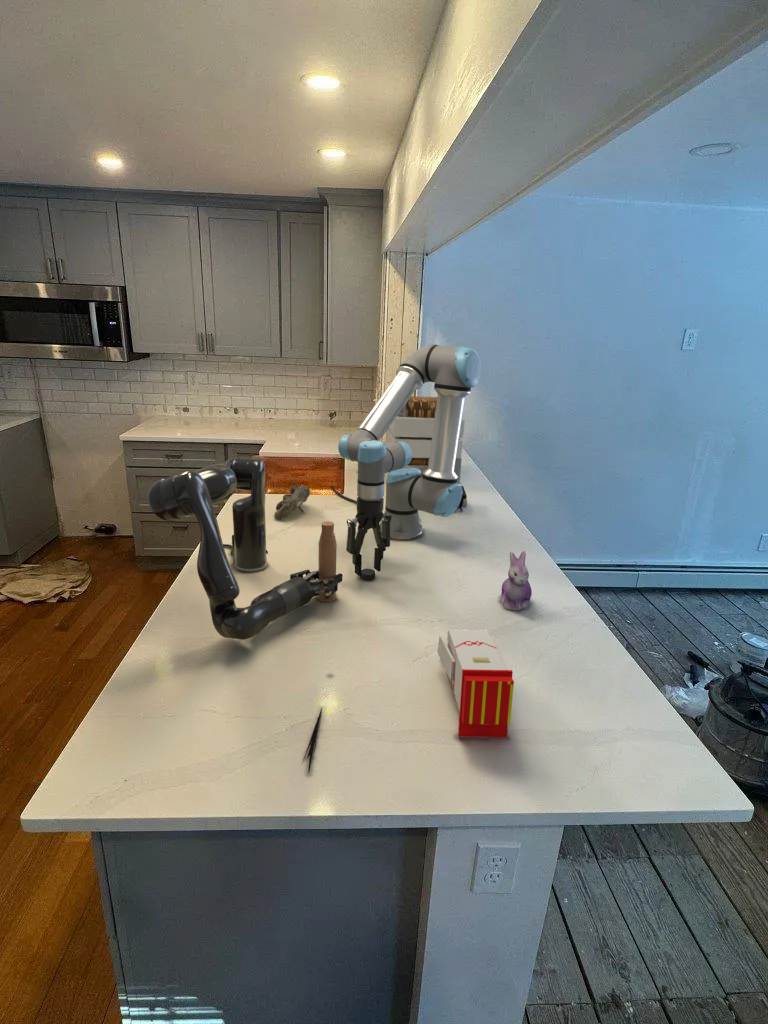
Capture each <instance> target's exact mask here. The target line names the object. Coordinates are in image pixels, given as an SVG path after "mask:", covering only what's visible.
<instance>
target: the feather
mask: <svg viewBox="0 0 768 1024" xmlns="http://www.w3.org/2000/svg"><path fill="white" fill-rule="evenodd" d="M329 675H330V676H331V675H332V674H331V673H330V674H329ZM322 710H323V707H321V708H320V710H319V713H318V716H317V719H316V723H315V725H314V728H313V731H312V733H311V737H310V739H309V742H308V745H307V748H306V751H305V754H304V757H303V760H302V763H301V767H302V765H303V763H304V761H305V758H308V759H309V760H308V762H307V763H308V764H307V766H308V771H310V770H311V766H312V765H311V764H312V760H313V757H315V756H314V755H315V751H316V749H315V746H317V739H318V733H319V729H320V722H321V717H322V712H323V711H322ZM313 754H314V755H313ZM306 755H307V757H306Z"/></svg>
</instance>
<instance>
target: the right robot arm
mask: <svg viewBox="0 0 768 1024" xmlns="http://www.w3.org/2000/svg"><path fill="white" fill-rule="evenodd" d="M481 373H482V364H481V359H480V357H479V354H478V353H477V351H476V350H474V349H473V348H471V347H466V346H455V345H441V344H428V345H427V344H426V345H424V346H422V347H420V348H418V349H416V350H415V351H413V352H412V353H410V355H408V356H407V357H406V358H405V359H403V361H402V362H401V363H400V364H399V366H398V367H397V369H395V377H394V378H393V380H392V381H391V382H390V384H389V385H388V387H387V388H386V389H385V391H384V392H383V393H382V395H381V396H380V398H379V399H378V400H377V402H376V403H375V405H374V406H373V407H372V409H371V410H370V411H369V413H368V414H367V415H366V417H365V418H364V420H363V421H362V422H361V424H360V425H359V426H358V428H357V429H356V431H355V432H354V434H352V433H349V434H345V435H343V436H342V437H341V438H340V439H339V442H338V453H339V455H340V457H341V458H343V459H345V460H348V461H351V462H356V463H357V482H356V483H357V486H356V496H357V497H356V500H355V499H353V498H350V497H348V496H345V495H344V494H342V493H340V492H339V491H338V490H337V489H335V487H334V486H333V485H330V486H329V487H330V489H331V490H332V492H334V493H335V495H336V496H337V495H338V496H339V497H340V498H343V499H344V500H347V501H349V502H351V503H353V504H355V505H356V515H355V517H354V518H352V519H346V525H347V535H346V536H347V537H346V549H345V551H346V553H348V554H350V555H351V556H352V564H353V565H354V570H353V571H354V574H355V575H356V576H358V577H360V576H361V570H362V569H363V568H362V567H363V566H362V565H363V564H362V563H363V554H361V550H362V548H363V544H364V540H365V537H366V534H367V533H368V530H371V529H372V533H373V537H374V540H375V544H376V547H375V548H374V550H373V551H374V553H373V570H374V571H377V572H379V573H380V572H381V571H382V560H384V554H385V553H384V552H386V551H387V548H389V547H390V546H391V540H395V541H410V540H415V539H418V538H420V537H421V536H422V535H423V525H422V524H421V523H422V518H420V515H419V511H421V512H424V513H427V514H431V515H433V516H439V517H444V518H447V517H450V516H452V515H453V514H454V513H455V512H456V511H457V510H458V509H457V507H458V506H459V504H460V501H461V498H462V487H461V486H462V485H461V484H459V483H457V478H458V477H457V475H456V474H455V473H454V467H455V460H456V454H457V447H458V440H459V433H460V426H461V420H462V419H463V414H464V413H463V412H464V406H465V405H464V404H465V398H466V397H467V396H468V395H469V394H471V391H472V388H473V387H474V388H475V387H477V385H478V384H479V381H480V380H481V375H482V374H481ZM425 383H434V386H433V389H434V391H435V392H436V393H437V396H436V397H437V405H436V412H435V419H434V427H433V434H432V442H431V449H430V456H429V464H428V466H427V468H426V469H425V470H423V471H422V470H421V469H420V468H417V467H407V465H408V464H409V463H410V462H411V460H412V451H411V448H410V447H409V445H408V444H406V443H404V442H394V443H388V442H386V441H382V439H383V437H384V435H386V431H387V430H388V428H389V427H390V425H391V424H392V422H393V421H394V420H395V418H396V417H397V415H398V414H399V412H400V411H401V410H402V408H403V407H404V405H405V404H406V402H407V401H408V400H409V398H410V397H411V396H413V394H414V393H415V391H417V390H420V389H421V388H422V387H423V386H424V384H425ZM403 467H404V468H403ZM386 474H387V475H386ZM385 477H386V480H385ZM384 497H385V499H384ZM384 500H385V504H384ZM384 505H385V507H384ZM384 508H385V509H384Z"/></svg>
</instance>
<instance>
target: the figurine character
mask: <svg viewBox="0 0 768 1024" xmlns="http://www.w3.org/2000/svg"><path fill="white" fill-rule="evenodd" d="M461 487H462V498H461V501H460V504H459V506H458V507H457V509H456V510H458V509H459V510H460V512H463V509H464V508H465V509H466V508H467V506H468V499H467V497H468V496H467V495H468V494H467V493H466V490H465V487H464V485H461Z"/></svg>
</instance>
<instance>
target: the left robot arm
mask: <svg viewBox="0 0 768 1024" xmlns="http://www.w3.org/2000/svg"><path fill="white" fill-rule="evenodd" d="M266 473H267V471H266V465H265V462H264V461H263V459H261V458H256V457H255V458H253V457H239V456H238V457H231V458H228V459H227V460H225V461H224V462H221V463H217V464H212V465H207V466H204V467H202V468H200V469H197V470H186V471H183V472H180V473H179V472H178V473H176V474H173V475H169V476H165V477H162V478H160V479H158V480H156V481H155V482H154V483H152V484H151V486H150V488H149V490H148V492H147V493H148V494H147V502H148V506H149V508H150V510H151V512H152V513H153V514H154V515H155V516H156V517H157V518H158V519H161V520H163V521H166V522H169V521H170V522H174V521H178V520H182V519H185V518H187V517H192V516H195V517H196V520H197V523H198V525H199V531H200V542H199V548H198V554H197V560H196V572H197V575H198V578H199V580H200V583H201V585H202V587H203V590H204V592H205V595H206V597H207V598H208V602H209V610H210V615H211V622H212V625H213V627H214V630H215V631H216V632H217V633H218V635H219V636H221V637H223V638H225V639H233V640H239V641H240V640H241V641H242V640H243V641H244V640H249V639H252V638H254V637H256V636H258V634H260V633H261V632H262V631H263V630H265V628H267V627H268V626H269V624H270V623H272V622H274V621H276V620H278V619H280V618H281V617H284V616H287V615H290V614H291V613H294V612H295V611H297V610H299V609H300V608H302V607H305V606H306V605H308V604H309V603H311V601H312V599H313V598H314V597H318V596H319V595H325V599H329V598H330V597H331V596H332V595H333V594H334V593H335V592H336V593H337V592H338V589H339V584H341V583H342V582H343V574H342V573H341V572H339V573H336V575H335V576H333V577H332V578H328V579H325V578H322V579H318V570H311V569H305V570H301V571H298V572H294V573H291V574H290V575H289V579H288V580H286V581H284V582H282V583H279V584H277V585H276V586H274V587H273V588H271V589H269V590H267V591H265V592H263V593H261V594H259V595H257V596H256V597H254V598H253V599H252V600H251V602H250V605H249V606H246V607H237V605H236V602H235V600H236V599H237V598H238V597H239V595H240V593H241V592H240V591H241V589H240V586H239V583H238V581H237V578H236V576H235V573H234V571H233V569H232V566H231V564H230V562H229V560H228V557H227V553H226V551H225V547H226V548H230V549H231V551H230V554H231V555H232V564H233V565H234V567H235V569H236V570H238V571H240V572H244V573H253V572H258V571H261V570H264V569H266V567H267V566H268V561H267V555H268V554H269V551H268V550H267V530H266V529H267V527H266V477H267V476H266V475H267V474H266ZM237 490H239V491H248V492H249V491H250V495H249V496H246V497H242V498H239V499H237V500H235V501H233V503H232V506H231V507H232V509H231V510H232V527H233V534H231V544H228V543H223V539H222V535H221V531H220V526H219V523H218V519H217V515H216V512H215V511H216V510H215V507H214V505H215V504H218V503H221V502H223V501H226V500H228V499H230V498H231V497H232V496H233V495H234V494H235V492H236V491H237ZM328 582H330V585H327V583H328Z"/></svg>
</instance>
